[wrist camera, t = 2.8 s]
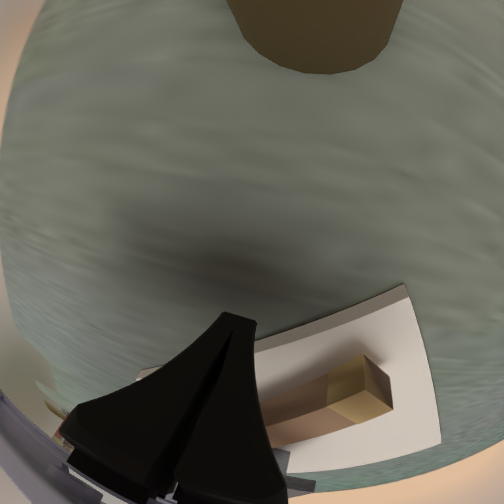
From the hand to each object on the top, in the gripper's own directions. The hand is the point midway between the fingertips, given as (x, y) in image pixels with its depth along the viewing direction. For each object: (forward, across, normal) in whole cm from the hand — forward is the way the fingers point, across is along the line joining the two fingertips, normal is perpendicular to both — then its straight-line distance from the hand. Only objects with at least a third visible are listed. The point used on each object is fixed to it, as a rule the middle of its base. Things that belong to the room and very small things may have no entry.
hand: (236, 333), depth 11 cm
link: (+1, -3, +7) cm, 8 cm away
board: (+3, -7, +12) cm, 14 cm away
